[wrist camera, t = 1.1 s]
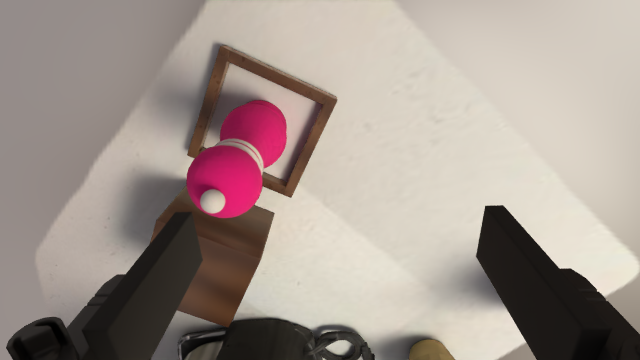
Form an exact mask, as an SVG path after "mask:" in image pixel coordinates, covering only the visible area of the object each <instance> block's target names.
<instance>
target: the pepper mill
mask: <svg viewBox="0 0 640 360" xmlns="http://www.w3.org/2000/svg"><path fill="white" fill-rule="evenodd" d="M286 139H287V137H286V120H285V118H284V115H283V114H282V112H281V111H280V110H279V109H278V108H277V107H276V106H275V105H273V104H272V103H269V102H267V101H261V100H256V101H251V102H249V103H247V104H245V105H242V106H239V107H237V108H235V109H234V110H233V111H231V112H230V113H229V114H228V116H227V117H226V118H225V120H224V122H223V124H222V127H221V131H220V142H219V143H217V144H216V145H215V146H214V147H210V148H208V149H206V150H204V151H203V152H201V153H200V154H199V155H198V156H197V157H196V158H195V159H194V160H193V162H192V164H191V165H190V167H189V169H188V173H187V180H186V184H187V190H188V193H189V196H190V198H191V200H192V201H193V203H194V204H195V205H196V206H197V207H198V208H199V209H200V210H202V211H203V212H204V213H207V214H209V215H211V216H214V217H218V218H232V217H236V216H239V215H241V214H243V213H245V212H247V211H248V210H249V209H250V208H251V207H252V206H253V205H254V204H255V202H256V201H257V200H258V198H259V196H260V193H261V190H262V174H263V168H266V167H268V166H270V165H272V164H273V163H274V162H276V161H277V159H278V158H279V157H280V156H281V154H282V152H283V151H284V148H285V145H286Z"/></svg>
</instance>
